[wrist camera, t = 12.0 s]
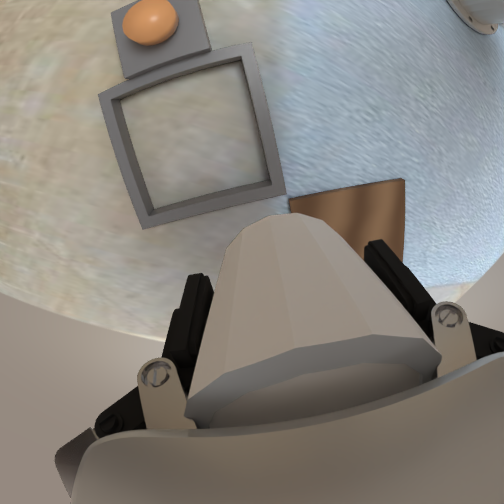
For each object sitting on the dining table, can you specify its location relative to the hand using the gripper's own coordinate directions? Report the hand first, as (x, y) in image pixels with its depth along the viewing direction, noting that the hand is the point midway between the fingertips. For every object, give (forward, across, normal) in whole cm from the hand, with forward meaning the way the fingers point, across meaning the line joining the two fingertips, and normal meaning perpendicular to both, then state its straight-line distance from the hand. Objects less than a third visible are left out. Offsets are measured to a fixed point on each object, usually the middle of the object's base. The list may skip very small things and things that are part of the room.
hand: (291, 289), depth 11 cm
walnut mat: (+19, -10, +10) cm, 24 cm away
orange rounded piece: (+18, +6, -17) cm, 25 cm away
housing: (+19, +6, -9) cm, 22 cm away
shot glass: (+1, 0, 0) cm, 1 cm away
